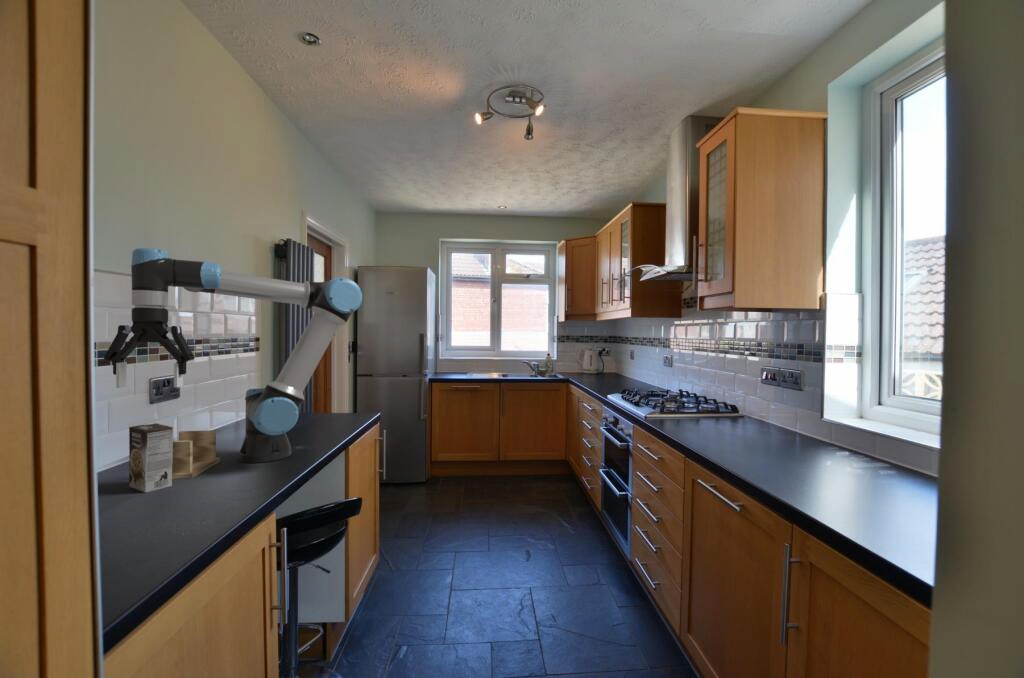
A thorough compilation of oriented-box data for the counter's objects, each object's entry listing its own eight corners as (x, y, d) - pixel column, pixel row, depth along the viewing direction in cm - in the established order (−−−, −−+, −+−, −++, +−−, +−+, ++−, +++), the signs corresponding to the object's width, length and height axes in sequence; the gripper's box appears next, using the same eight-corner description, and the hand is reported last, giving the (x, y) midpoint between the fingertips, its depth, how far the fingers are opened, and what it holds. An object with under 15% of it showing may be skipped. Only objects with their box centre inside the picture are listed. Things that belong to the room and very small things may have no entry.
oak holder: (220, 461, 139) (220, 429, 139) (191, 478, 123) (192, 442, 123) (179, 462, 137) (179, 430, 137) (144, 479, 121) (144, 443, 121)
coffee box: (127, 487, 116) (127, 426, 115) (156, 480, 121) (156, 422, 121) (144, 493, 111) (144, 430, 111) (173, 485, 117) (173, 426, 117)
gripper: (209, 309, 121) (208, 384, 122) (108, 307, 117) (108, 385, 118) (193, 307, 114) (193, 388, 114) (85, 305, 110) (85, 389, 110)
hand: (150, 387), depth 116 cm, fingers open, 13 cm apart
